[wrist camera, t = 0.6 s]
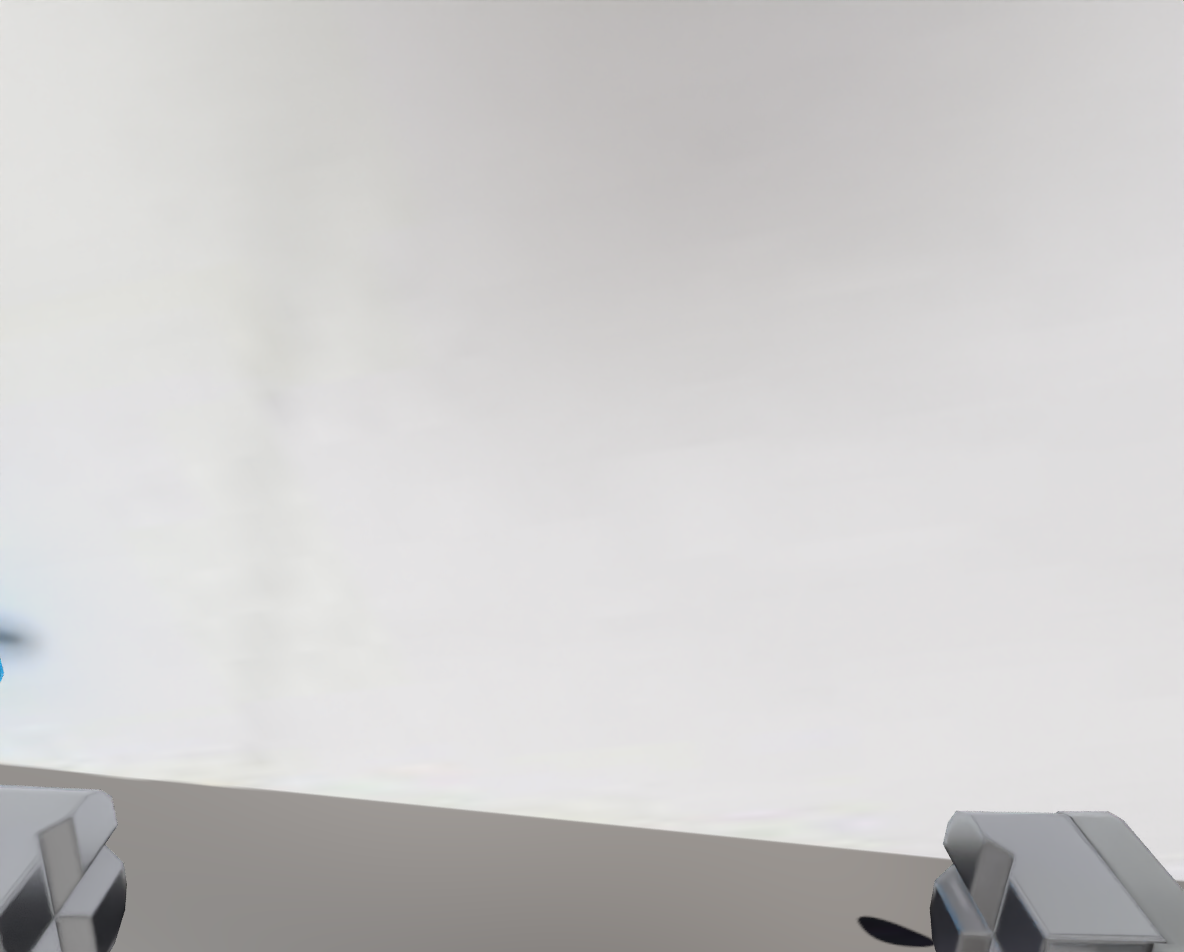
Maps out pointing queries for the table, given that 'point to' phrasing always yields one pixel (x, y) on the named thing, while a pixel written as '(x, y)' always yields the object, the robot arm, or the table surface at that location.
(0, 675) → the mug
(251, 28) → the table surface
